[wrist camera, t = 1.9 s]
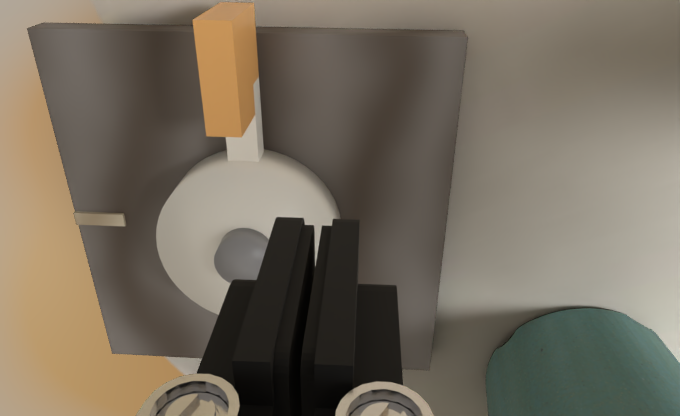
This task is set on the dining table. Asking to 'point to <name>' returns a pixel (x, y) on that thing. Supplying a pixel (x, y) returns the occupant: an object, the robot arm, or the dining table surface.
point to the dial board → (278, 135)
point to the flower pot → (583, 368)
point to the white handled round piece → (233, 172)
